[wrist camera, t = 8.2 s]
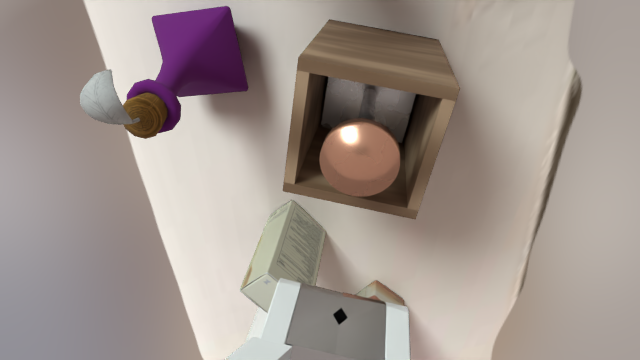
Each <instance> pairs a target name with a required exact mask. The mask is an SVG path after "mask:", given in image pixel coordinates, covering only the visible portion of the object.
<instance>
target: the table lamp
mask: <svg viewBox="0 0 640 360" xmlns="http://www.w3.org/2000/svg"><path fill="white" fill-rule="evenodd" d="M415 96H416V93H411V92H406V91H401V90H395V89H390V88H385V87H380V86H375V85H370V84H365V83H359V82H354V81H349V80H344V79H339V78H334V77H329V78H328V84H327V91H326V97H325V103H324V109H323V116H322V122H321V127H326V128H331V130H330V132H329V133H328V134H327V136H326V138H325V140H324V143H323V146H322V149H321V152H320V168H321V171H322V173H323V175H324V177H325V178H326V180H327V181H328V182H329V183H330V184H331V185H332V186H333V187H334V188H335V189H337V190H339V191H340V192H342V193H345V194H348V195H351V196H360V197H363V196H371V195H374V194H377V193H380V192H382V191H383V190H385V189H386V188H388V187H389V186H390V185H391V184H392V183H393V181H394V180H395V178H396V177H397V174H398V172H399V168H400V149H399V144H398V142H400V143H402V141H403V138H404V134H405V131H406V127H407V124H408V120H409V117H410V113H411V110H412V106H413V103H414V99H415Z"/></svg>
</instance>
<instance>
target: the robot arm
mask: <svg viewBox="0 0 640 360" xmlns="http://www.w3.org/2000/svg"><path fill="white" fill-rule="evenodd" d="M224 360H411V352H410V325H409V310H408V308H407V307H406V306H402V305H397V304H393V303H388V302H384V301H380V300H376V299H371V298H366V297H362V296H357V295H352V294H348V293H340V292H336V291H332V290H328V289H324V288H320V287H317V286H313V285H309V284H305V283H302V284H301V283H300V282H296V281H292V280H287V279H283V278H280V280H279V282H278V283H277V286H276V289H275V292H274V295H273V298H272V301H271V304H270V308H269V311H268V314H267V317H266V320H265V323H264V326H263V329H262V332H261V335H260V338H256V337H252V338H251V339H250V340H248V341H247V342H246V343H244V344H243V345H242V346H241V347H239V348H238V349H237V350H236V351H234V352H233V353H232V354H231V355H229V356H228V357H227V358H226V359H224Z"/></svg>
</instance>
